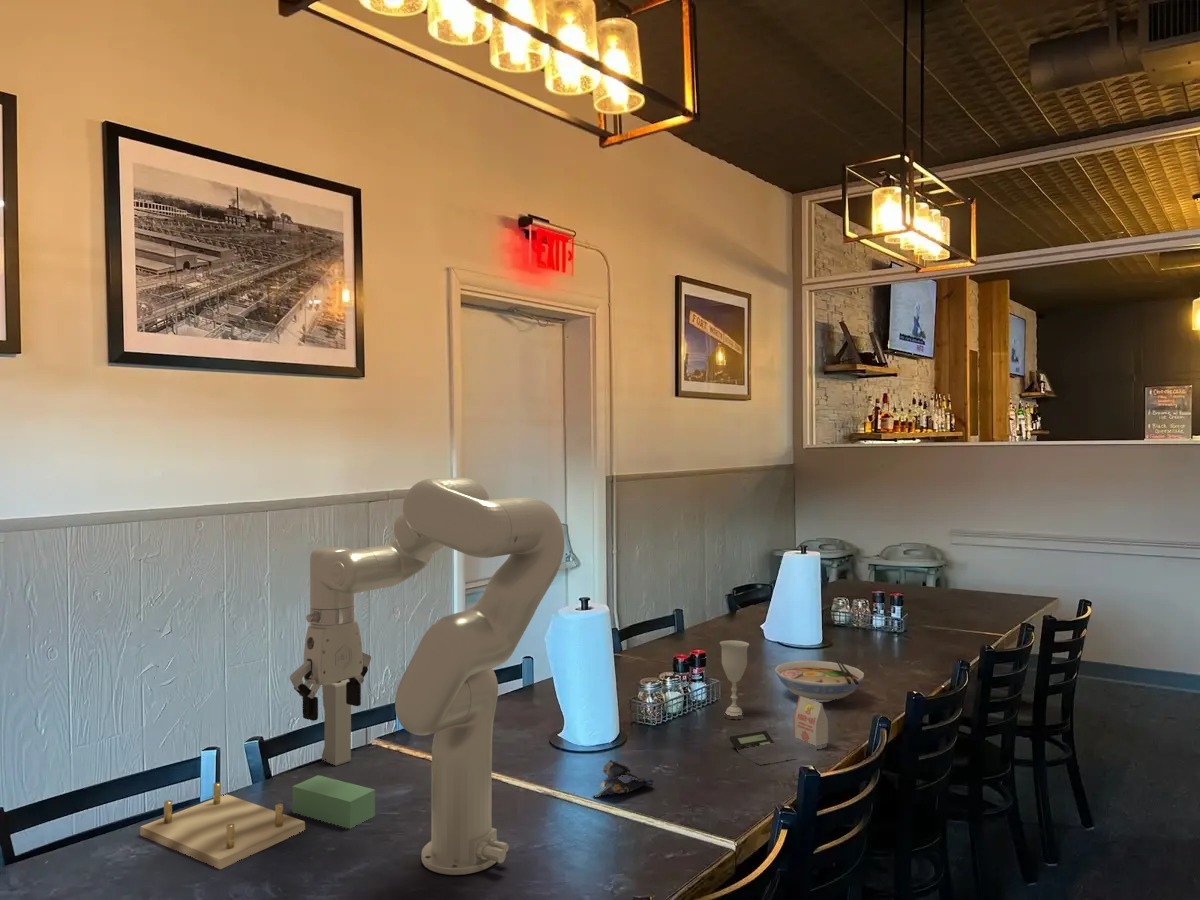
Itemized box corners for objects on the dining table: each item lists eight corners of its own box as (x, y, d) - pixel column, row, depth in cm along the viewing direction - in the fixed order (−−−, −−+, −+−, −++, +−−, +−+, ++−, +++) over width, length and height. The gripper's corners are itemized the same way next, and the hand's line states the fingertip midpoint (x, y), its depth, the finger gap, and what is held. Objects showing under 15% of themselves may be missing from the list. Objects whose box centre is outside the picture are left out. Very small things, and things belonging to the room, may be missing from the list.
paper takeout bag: (805, 738, 192) (805, 694, 192) (827, 747, 187) (827, 702, 187) (793, 741, 190) (793, 697, 190) (815, 750, 185) (815, 704, 185)
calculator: (760, 767, 176) (760, 752, 176) (729, 749, 186) (729, 735, 186) (797, 760, 180) (797, 746, 180) (764, 743, 190) (764, 730, 190)
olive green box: (374, 817, 151) (374, 789, 151) (350, 830, 146) (350, 801, 146) (317, 802, 158) (318, 775, 158) (292, 814, 153) (292, 786, 153)
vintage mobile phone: (337, 756, 181) (337, 638, 181) (351, 761, 178) (351, 642, 178) (321, 761, 178) (321, 641, 178) (335, 766, 175) (335, 645, 175)
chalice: (753, 715, 209) (753, 642, 209) (742, 723, 203) (742, 648, 203) (725, 710, 213) (726, 639, 213) (714, 718, 207) (714, 644, 207)
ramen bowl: (771, 684, 237) (771, 655, 237) (856, 687, 234) (856, 658, 234) (778, 711, 212) (778, 679, 212) (872, 715, 209) (872, 682, 209)
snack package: (582, 783, 168) (596, 805, 156) (587, 750, 168) (602, 770, 157) (639, 788, 170) (657, 810, 159) (644, 755, 171) (662, 775, 160)
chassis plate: (305, 830, 145) (305, 801, 145) (220, 869, 132) (220, 837, 132) (225, 802, 157) (225, 775, 157) (140, 835, 143) (140, 805, 143)
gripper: (306, 626, 143) (306, 728, 143) (383, 610, 157) (383, 702, 157) (277, 622, 147) (277, 721, 147) (354, 606, 161) (355, 697, 161)
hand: (332, 711), depth 152 cm, fingers open, 9 cm apart
